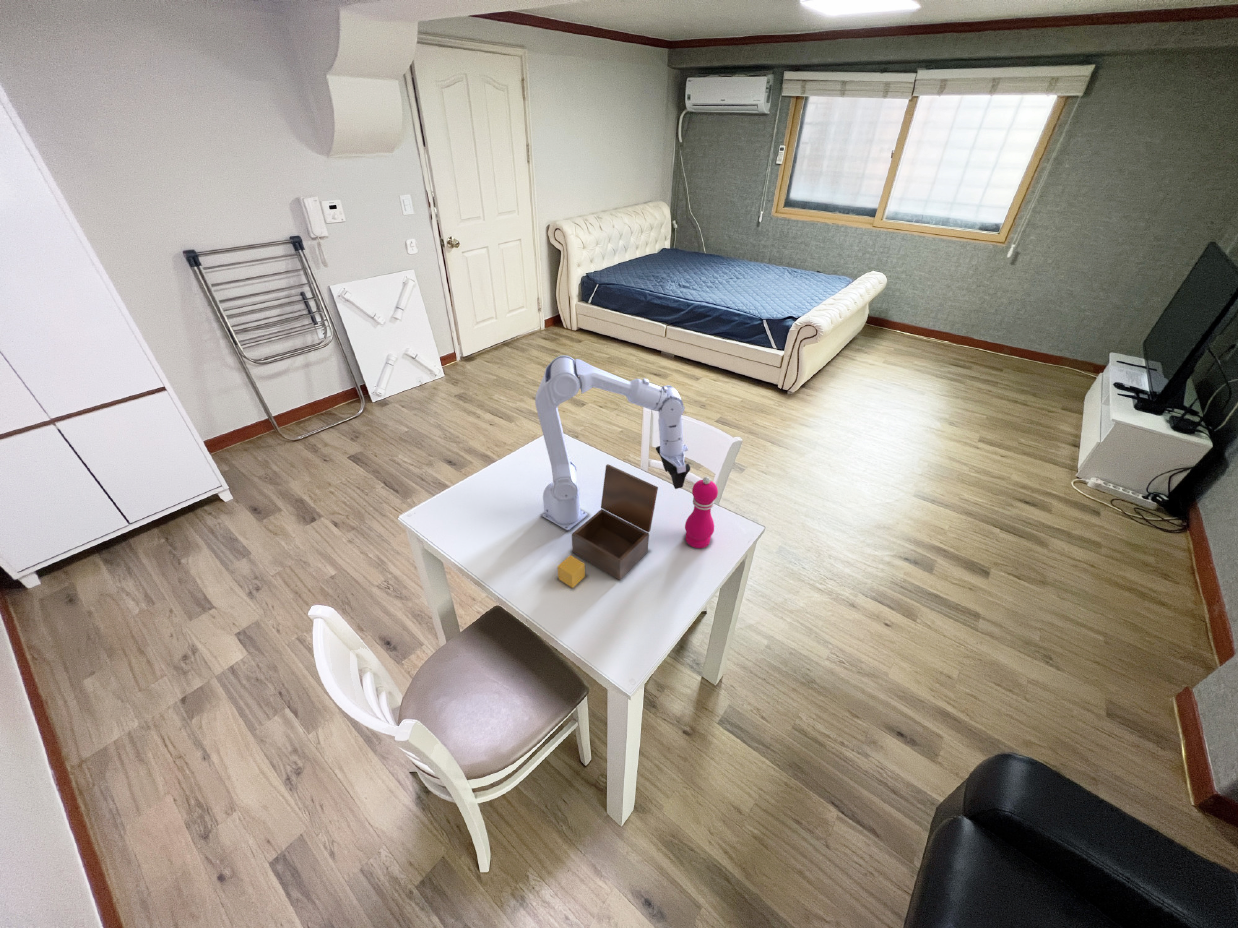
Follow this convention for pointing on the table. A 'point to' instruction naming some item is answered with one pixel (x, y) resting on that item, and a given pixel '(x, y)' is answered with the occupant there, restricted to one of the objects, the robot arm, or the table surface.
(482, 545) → the table surface
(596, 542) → the box
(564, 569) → the mustard block
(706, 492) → the pepper mill
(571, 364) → the robot arm
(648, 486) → the box lid
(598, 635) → the table surface
